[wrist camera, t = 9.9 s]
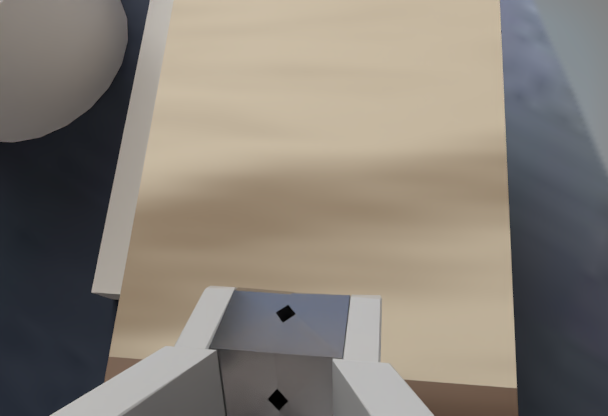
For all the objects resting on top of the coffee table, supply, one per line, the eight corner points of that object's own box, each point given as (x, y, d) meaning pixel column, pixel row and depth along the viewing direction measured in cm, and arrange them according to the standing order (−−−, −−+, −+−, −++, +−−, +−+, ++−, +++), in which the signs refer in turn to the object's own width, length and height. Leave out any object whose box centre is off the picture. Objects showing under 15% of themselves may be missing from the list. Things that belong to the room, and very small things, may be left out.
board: (454, 321, 17) (461, 315, 16) (112, 299, 19) (91, 292, 18) (452, 15, 21) (457, -12, 20) (164, 19, 23) (151, -5, 21)
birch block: (518, 423, 10) (498, -28, 13) (102, 387, 11) (177, -19, 14) (465, 409, 15) (460, 99, 18) (196, 386, 16) (234, 99, 19)
